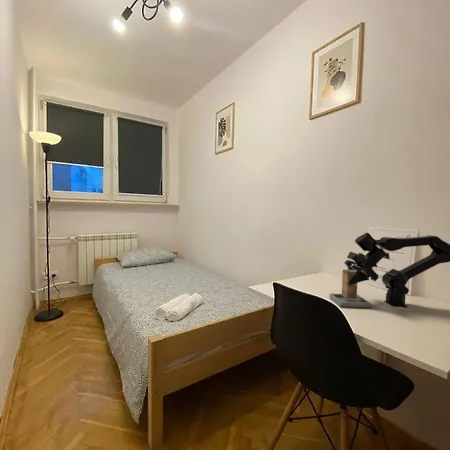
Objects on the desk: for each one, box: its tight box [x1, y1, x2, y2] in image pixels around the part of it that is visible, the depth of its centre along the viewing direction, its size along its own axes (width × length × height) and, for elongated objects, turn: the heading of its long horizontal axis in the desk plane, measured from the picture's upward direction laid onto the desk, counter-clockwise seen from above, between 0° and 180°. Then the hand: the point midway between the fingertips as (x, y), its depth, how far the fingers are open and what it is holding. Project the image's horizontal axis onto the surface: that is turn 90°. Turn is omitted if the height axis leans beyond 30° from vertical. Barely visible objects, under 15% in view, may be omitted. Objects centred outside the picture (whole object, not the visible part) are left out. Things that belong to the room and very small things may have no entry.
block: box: [341, 269, 358, 299], centre depth 114 cm, size 4×4×12 cm
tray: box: [329, 293, 372, 309], centre depth 113 cm, size 13×12×2 cm
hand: (346, 282), depth 114 cm, fingers closed on block, 4 cm apart
